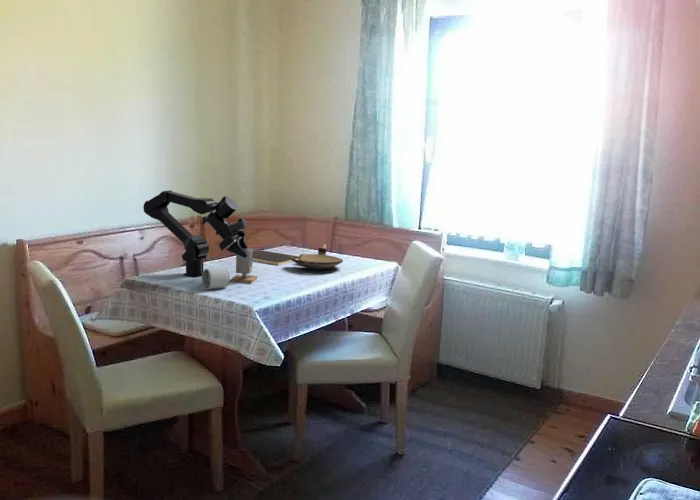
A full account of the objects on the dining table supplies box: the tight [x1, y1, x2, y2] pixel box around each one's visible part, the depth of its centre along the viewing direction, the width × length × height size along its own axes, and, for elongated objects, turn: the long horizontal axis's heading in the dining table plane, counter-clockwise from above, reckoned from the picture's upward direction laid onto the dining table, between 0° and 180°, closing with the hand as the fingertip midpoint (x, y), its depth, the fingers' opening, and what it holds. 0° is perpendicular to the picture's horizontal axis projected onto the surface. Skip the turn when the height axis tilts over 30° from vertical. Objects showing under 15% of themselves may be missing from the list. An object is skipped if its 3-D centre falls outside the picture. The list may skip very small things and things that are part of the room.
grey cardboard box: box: [235, 247, 254, 275], centre depth 260 cm, size 6×5×9 cm
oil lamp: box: [290, 243, 344, 270], centre depth 290 cm, size 22×30×8 cm
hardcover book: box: [252, 249, 299, 266], centre depth 303 cm, size 16×23×2 cm
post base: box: [230, 273, 258, 284], centre depth 261 cm, size 8×8×4 cm
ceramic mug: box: [201, 267, 231, 291], centre depth 248 cm, size 11×8×8 cm
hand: (247, 255), depth 259 cm, fingers closed on grey cardboard box, 5 cm apart
